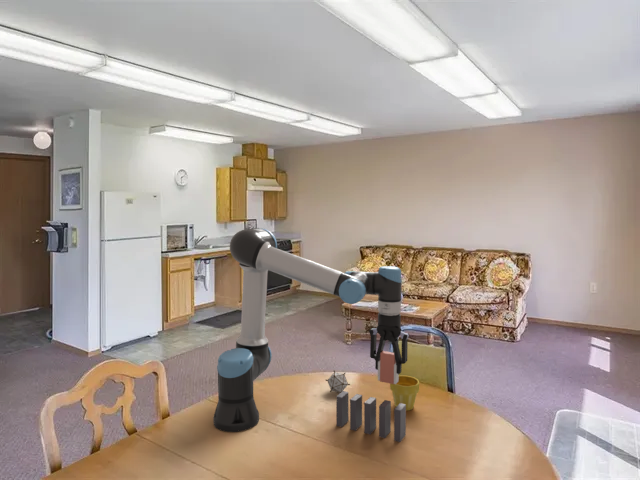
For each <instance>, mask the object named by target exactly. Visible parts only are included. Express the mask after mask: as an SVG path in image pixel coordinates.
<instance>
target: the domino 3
mask: <svg viewBox="0 0 640 480" xmlns="http://www.w3.org/2000/svg"><path fill="white" fill-rule="evenodd" d="M363 405H364V406H363V407H364V408H363V411H364V412H363V413H364V414H363V415H364V419H363V421H364V425H363V427H364V428H363V429H364V431H363V433H364V434H367V435H371V434H372V433H374V430H376V429H377V398H376V397H373V396H369V398H368V399H367V400H365V401H364V403H363Z"/></svg>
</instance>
